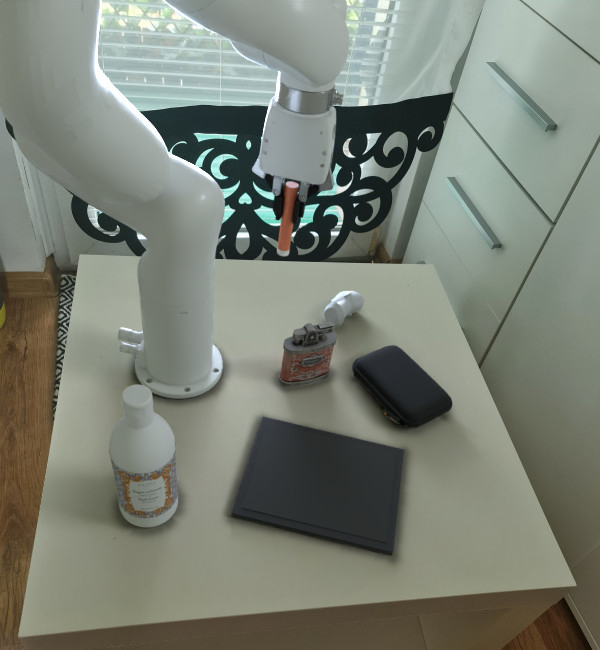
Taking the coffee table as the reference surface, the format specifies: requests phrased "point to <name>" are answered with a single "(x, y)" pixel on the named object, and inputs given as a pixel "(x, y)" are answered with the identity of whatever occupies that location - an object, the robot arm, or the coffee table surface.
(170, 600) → the coffee table surface
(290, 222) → the orange cylindrical rod
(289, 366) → the lighter
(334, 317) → the pale two-lobed sculpture
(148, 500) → the bath foam
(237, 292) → the coffee table surface
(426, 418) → the carrying case
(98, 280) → the coffee table surface
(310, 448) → the tablet
